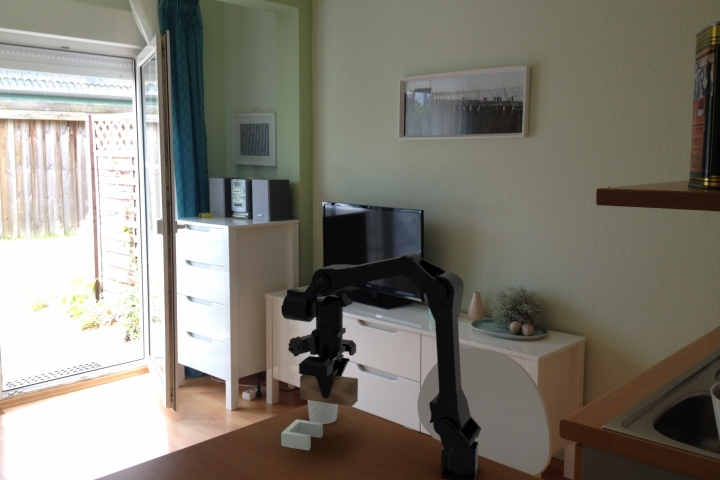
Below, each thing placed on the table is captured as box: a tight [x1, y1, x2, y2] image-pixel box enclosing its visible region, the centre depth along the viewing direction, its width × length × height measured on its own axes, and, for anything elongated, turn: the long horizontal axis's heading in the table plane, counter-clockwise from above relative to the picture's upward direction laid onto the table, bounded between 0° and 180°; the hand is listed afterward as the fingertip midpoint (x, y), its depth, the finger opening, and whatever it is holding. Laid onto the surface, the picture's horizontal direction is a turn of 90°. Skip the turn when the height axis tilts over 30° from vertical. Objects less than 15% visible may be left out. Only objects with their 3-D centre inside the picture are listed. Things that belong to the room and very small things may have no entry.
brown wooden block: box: [299, 374, 359, 407], centre depth 139 cm, size 12×4×5 cm, turn 71°
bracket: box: [280, 419, 324, 451], centre depth 143 cm, size 6×8×3 cm
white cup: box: [307, 400, 339, 425], centre depth 155 cm, size 8×8×10 cm
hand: (328, 395), depth 140 cm, fingers closed on brown wooden block, 3 cm apart
